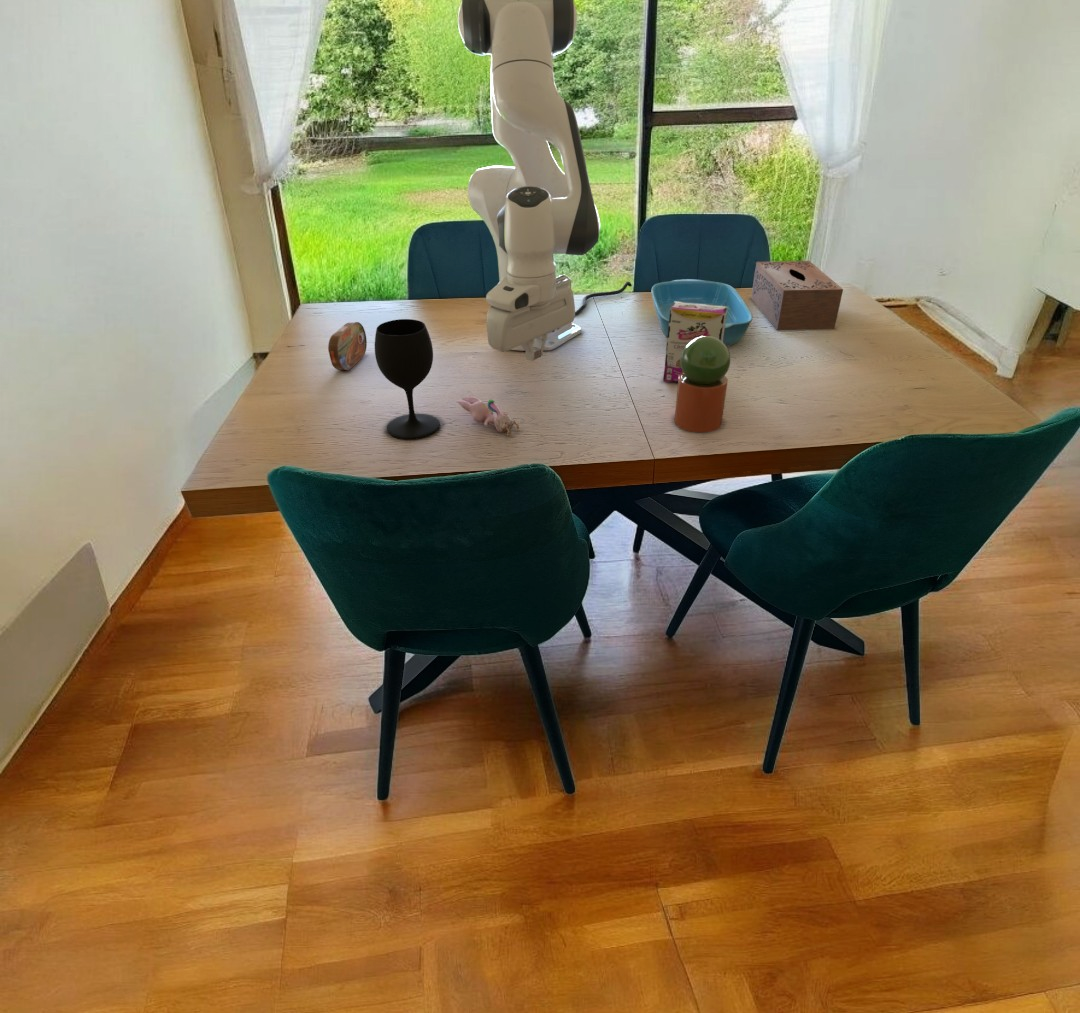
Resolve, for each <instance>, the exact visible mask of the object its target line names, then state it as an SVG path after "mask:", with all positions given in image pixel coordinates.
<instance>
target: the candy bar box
mask: <svg viewBox="0 0 1080 1013" xmlns="http://www.w3.org/2000/svg"><path fill="white" fill-rule="evenodd" d="M726 315H727V307H726V306H716V305H706V304H696V303H687V302H677V301H674V303H673V306H671V308H670V317H669V327H668V338H667V337H666V339H667V340H666V349H665V359H664V369H663V370H664V371H663V382H665V383H666V382H667V383H672V384H678V379H679V375H680V374H681V373H683V372H682V369H681V365H680V359H681V354H682V352H683V350H684V348H685V346H686V345H687V344H688V343H689V342H690V341H692V340H693V339H695V338H697V337H701V336H712V337H715V338H718V339H719V340H721V341H722V342H723V336H724V329H725V322H726Z"/></svg>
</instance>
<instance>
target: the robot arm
mask: <svg viewBox="0 0 1080 1013" xmlns="http://www.w3.org/2000/svg"><path fill="white" fill-rule="evenodd" d="M577 24H578V13H577V8H576V5H575V2H574V0H461V3H460V6H459V8H458V13H457V26H458V31H459V34H460V37H461V39H462V42H463V44H464V47H465V48H466V49H467V50H468V52H470V53H471V54H475V55H478V56H482V57H485V56H486V55H490V56H491V58H490V59H491V60H490V61H491V62H490V63H491V64H490V107H491V128H492V130H491V131H492V135H493V137H494V140H495V141H496V142H497V144H498V145H500V146H501V147H503V149H504V150H506V151H507V153H508V154H509V156H510V158H511V160H512V163H513V166H507V165H491V166H486V167H481V168H477V169H476V170H475V171H474V172H473V173H472V174H471V176H470V178H469V181H468V184H467V198H468V199H467V200H468V203H469V205H470V207H471V209H472V210H473V211H474V212H475V213H476V214H477V215H478V216H479V217H480V218H481V219H482V220H483V222H484V224H485V225H486V227H487V229H488V231H489V233H490V235H491V237H492V239H493V242H494V246H495V250H496V257H497V266H498V268H497V269H498V280H499V282H498V283H497V284H496V285H495V286H494V287H493V288H492V289H491V290H489V291H488V292H487V293H486V295H485V300H486V304H487V305H488V306H490V307H489V308H488V311H487V313H486V334H487V335H486V336H487V343H488V345H489V346H490V347H491V348H492V350H495V351H498V352H500V353H506V352H507V351H510V350H511V351H519V352H520V351H521V352H522V351H523V352H524V351H525V358H526V360H527V361H530V362H533V361H535V360H538V359H539V358H541V357H543V356H544V351H553V350H554V349H556V348H558V347H560V346H561V345H563V344H565V343H567V342H568V341H570V340H571V339H573V338H574V337H576V336H579V335H580V334H581V333H582V328H581V327H580V326H579V325H577V324H576V323H573V322H574V320H575V318H576V316H578V315H580V313H582V311H583V310H585V308H586V307H587V300H589V299H592V298H596V297H606V296H607V297H608V296H616V295H619V294H621V293H623V292H624V291H625V290H626V289H627V287H633V285H632V283H631V281H626V282H625V283H624V284H623V285H622V287H621V288H620V289H618V290H612V291H601V292H594V293H590V294H587V295H585V296H584V297H583V298H582V305H580V307H579V308H578V309H577V310H576V304H575V298H574V292H573V289H572V280H571V279H570V277H569V276H567V275H566V274H561V275H558V276H557V267H556V262H555V260H554V259H555V258H554V255H564V254H565V255H569V256H584V255H586V254H587V253H589V252H590V251H591V250H592V249H594V247H595V246H596V245H597V243H598V242H599V238H600V233H601V232H600V231H601V222H600V217H599V212H598V209H597V206H596V204H595V201H594V200H595V199H594V195H593V191H592V187H591V183H590V178H589V173H588V167H587V162H586V158H585V153H584V147H583V142H582V137H581V133H580V129H579V124H578V121H577V120H578V119H577V117H576V113H575V110H574V108H573V106H572V104H571V103H569V102H568V101H566V100H564V99H563V98H562V96H561V94H560V93H559V90H558V88H557V85H556V83H555V76H554V62H553V61H554V59H555V57H556V55H559V54H561V53H563V52H565V51H566V50H567V49H568V48H569V47H570V46H571V45H572V43H573V39H574V37H575V34H576V31H577ZM549 143H550V144H551V145H553V146H554V147H555V148H556V150H557V151H558V152H559V154H560V158H561V161H562V168H563V170H562V169H561V167H560V166H559V165H558V164H557V161H556V160H555V158H554V156H553V153H552V151H551V148H550V145H549Z"/></svg>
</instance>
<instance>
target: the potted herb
mask: <svg viewBox="0 0 1080 1013" xmlns="http://www.w3.org/2000/svg"><path fill="white" fill-rule="evenodd" d="M680 365H681V369H682V372H683V373H681V374H680V375H679V379H678V383H677V390H676V391H677V392H676V401H675V410H674V424H675V425H676V426H677V427H679V428H681V430H685V431H688V432H691V433H711V432H715V431H717V430H719V429H720V427H722V425H723V417H724V411H725V403H726V396H727V389H728V382H729V381H728V380H729V378H727V376H726V375H727V373H728V371H729V369H730V366H731V353H730V351H729V348H728V346H726V345H725V344H724V343H723V342H722V341H721V340H719V339H718V338H715V337H712V336H701V337H697V338H695V339H693V340H692V341H690V342H689V343H688V344H687V345H686V346H685V348H684V350H683V352H682V354H681V359H680Z"/></svg>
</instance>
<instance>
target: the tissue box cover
mask: <svg viewBox="0 0 1080 1013" xmlns="http://www.w3.org/2000/svg"><path fill="white" fill-rule="evenodd" d="M754 268H755V270H754V275H753V283H752V288H751V289H752V290H751V296H750V299H751V300H752V301H753V303H754V304H755V305H756V307H757V308H758V309H759V310H760V311H761V312H762V314H763V315H764V316H765V317H766V319H767V320H768V321H769V322H770V323H771V325H772V326H773V327H774V329H775V330H776V331H804V330H805V331H806V330H807V331H808V330H811V331H813V330H814V331H815V330H835V328H836V324H837V319H838V314H839V310H840V305H841V301H842V297H843V292H844V288H842V287H841V286H840V285H838V284H837V283H836V281H834V280H833V279H832V278H830V277H829V276H828V275H827V274H826V273H824V272H823V271H822V270H821V269H820V268H819V267H817V266H816V265H815V264H814V263H813V262H811V261H810V260H785V261H784V260H783V261H781V260H780V261H778V260H777V261H775V260H774V261H756V262H755V267H754Z"/></svg>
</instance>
